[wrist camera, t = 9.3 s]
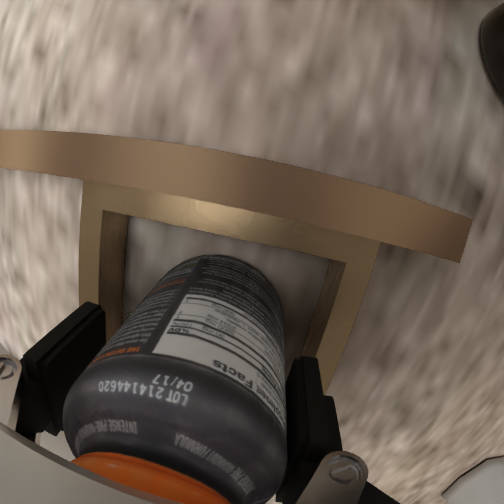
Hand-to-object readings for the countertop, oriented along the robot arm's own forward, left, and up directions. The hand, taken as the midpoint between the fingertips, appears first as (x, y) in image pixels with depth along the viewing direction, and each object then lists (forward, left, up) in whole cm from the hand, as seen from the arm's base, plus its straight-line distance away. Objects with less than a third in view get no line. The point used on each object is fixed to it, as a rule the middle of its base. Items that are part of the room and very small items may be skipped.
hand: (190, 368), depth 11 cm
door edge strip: (+5, -6, -4) cm, 9 cm away
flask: (-26, +14, -4) cm, 30 cm away
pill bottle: (0, 0, -4) cm, 4 cm away
